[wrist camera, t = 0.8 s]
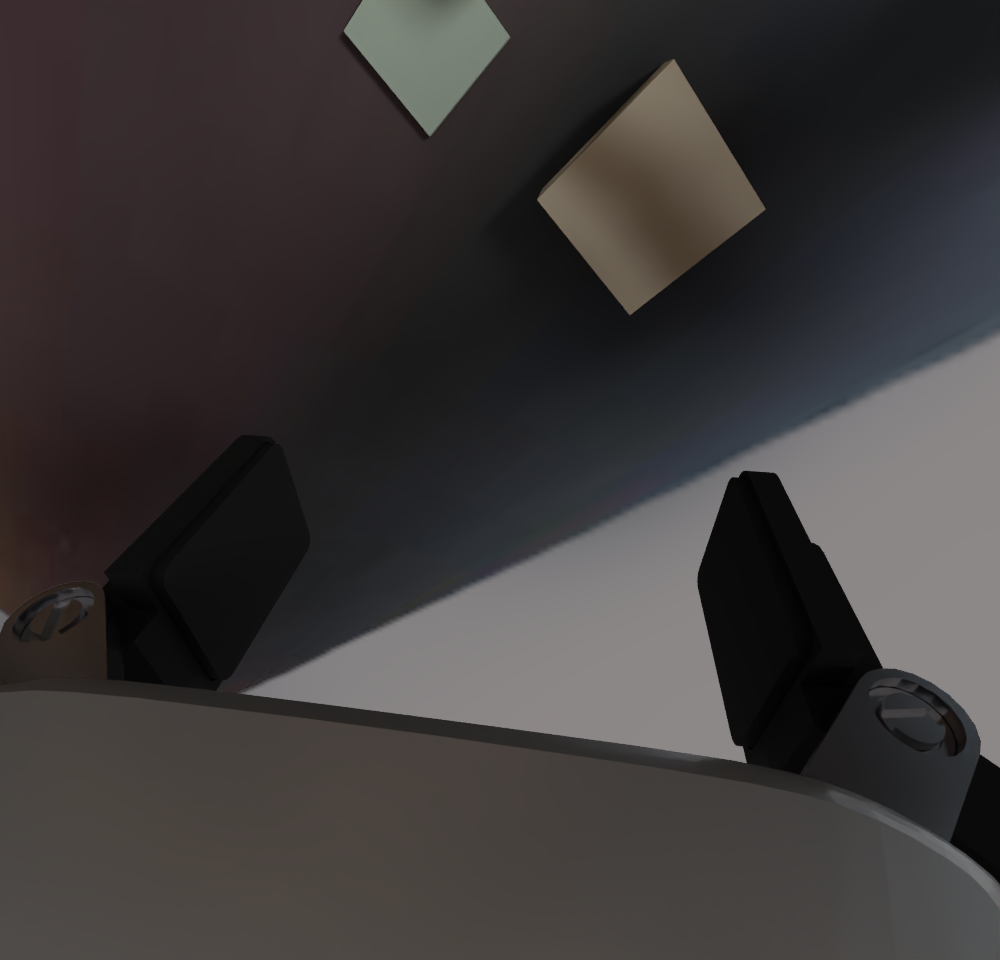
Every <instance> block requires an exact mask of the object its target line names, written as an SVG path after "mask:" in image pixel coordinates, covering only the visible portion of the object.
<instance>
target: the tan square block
mask: <svg viewBox="0 0 1000 960" xmlns="http://www.w3.org/2000/svg"><path fill="white" fill-rule="evenodd" d="M537 200H538V202H539V203H540V204H541V205H542V207H543V208H544V209H545V210H546V212H547V213H548V214H549V215H550V217H551V218H552V219H553V220H554V221H555V223H556V224H557V225H558V226H559V228H560V229H561V230H562V231H563V233H564V234H565V235H566V236H567V238H568V239H569V240H570V241H571V243H572V244H573V245H574V246H575V248H576V249H577V250H578V251H579V253H580V254H581V255H582V256H583V258H584V259H585V260H586V261H587V263H588V264H589V265H590V266H591V268H592V269H593V270H594V271H595V273H596V274H597V275H598V276H599V278H600V279H601V280H602V281H603V283H604V284H605V285H606V286H607V288H608V289H609V290H610V291H611V293H612V294H613V295H614V296H615V298H616V299H617V300H618V301H619V302H620V304H621V305H622V306H623V307H624V309H625V310H626V311H627V312H628V314H629V315H631V314H632V313H633V312H635V311H636V310H637V309H638V308H640V307H641V306H642V305H644V304H645V303H646V302H647V301H649V300H650V299H651V298H653V297H654V296H655V295H656V294H658V293H659V292H660V291H662V290H663V289H664V288H665V287H667V286H668V285H669V284H671V283H672V282H673V281H674V280H676V279H677V278H678V277H680V276H681V275H682V274H683V273H685V272H686V271H687V270H689V269H690V268H691V267H692V266H694V265H695V264H696V263H698V262H699V261H700V260H701V259H703V258H704V257H705V256H706V255H708V254H709V253H710V252H712V251H713V250H714V249H715V248H717V247H718V246H719V245H721V244H722V243H723V242H724V241H726V240H727V239H728V238H730V237H731V236H732V235H733V234H735V233H736V232H737V231H739V230H740V229H741V228H742V227H744V226H745V225H746V224H748V223H749V222H750V221H751V220H753V219H754V218H755V217H757V216H758V215H759V214H760V213H762V212H763V211H764V210H766V209H765V207H764V205H763V204H762V202H761V201H760V199H759V197H758V196H757V194H756V192H755V191H754V189H753V187H752V186H751V184H750V183H749V181H748V179H747V178H746V176H745V174H744V173H743V171H742V169H741V168H740V166H739V165H738V163H737V161H736V160H735V158H734V156H733V155H732V153H731V152H730V150H729V148H728V147H727V145H726V143H725V142H724V140H723V138H722V137H721V135H720V134H719V132H718V130H717V129H716V127H715V125H714V124H713V122H712V120H711V119H710V117H709V116H708V114H707V112H706V111H705V109H704V107H703V106H702V104H701V102H700V101H699V99H698V98H697V96H696V94H695V93H694V91H693V89H692V88H691V86H690V85H689V83H688V81H687V80H686V78H685V76H684V75H683V73H682V71H681V70H680V68H679V67H678V65H677V63H676V62H675V60H674V59H673V60H670V61H667V62H664V63H663V64H662V65H661V66H660V67H659V69H658V70H657V71H656V72H655V73H654V74H653V75H652V76H651V77H650V78H649V79H648V80H647V81H646V82H645V83H644V84H643V85H642V86H641V87H640V88H639V89H638V90H637V91H636V92H635V93H634V94H633V95H632V96H631V97H630V99H629V100H628V101H627V102H626V103H625V104H624V105H623V106H622V107H621V108H620V109H619V110H618V111H617V112H616V113H615V114H614V115H613V116H612V117H611V118H610V119H609V120H608V121H607V122H606V123H605V124H604V125H603V126H602V127H601V129H600V130H599V131H598V132H597V133H596V134H595V135H594V136H593V137H592V138H591V139H590V140H589V141H588V142H587V143H586V144H585V145H584V146H583V147H582V148H581V149H580V150H579V151H578V152H577V153H576V154H575V155H574V156H573V158H572V159H571V160H570V161H569V162H568V163H567V164H566V165H565V166H564V167H563V168H562V169H561V170H560V171H559V172H558V173H557V174H556V175H555V176H554V177H553V178H552V179H551V180H550V181H549V182H548V183H547V184H546V185H545V186H544V188H543V189H542V191H541V193H540V195H539V197H538V199H537Z"/></svg>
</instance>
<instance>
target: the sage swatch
mask: <svg viewBox="0 0 1000 960" xmlns="http://www.w3.org/2000/svg"><path fill="white" fill-rule="evenodd" d="M344 32H345V34H346V35H347V36H348V37H349V38H350V40H351V41H352V42H353V43H354V45H355V46H356V47H357V48H358V49H359V51H360V52H361V53H362V54H363V56H364V57H365V58H366V59H367V60H368V62H369V63H370V64H371V65H372V67H373V68H374V69H375V70H376V71H377V73H378V74H379V75H380V76H381V78H382V79H383V80H384V81H385V82H386V84H387V85H388V86H389V87H390V89H391V90H392V91H393V92H394V93H395V95H396V96H397V97H398V98H399V100H400V101H401V102H402V103H403V104H404V106H405V107H406V108H407V109H408V111H409V112H410V113H411V114H412V115H413V117H414V118H415V119H416V120H417V122H418V123H419V124H420V125H421V126H422V128H423V129H424V130H425V131H426V133H427V134H428V135H429V136H432V134H433V133H434V132H435V131H436V130H437V128H438V127H439V126H440V125H441V123H442V122H443V121H444V120H445V118H446V117H447V116H448V115H449V113H450V112H451V111H452V110H453V109H454V107H455V106H456V105H457V104H458V102H459V101H460V100H461V99H462V97H463V96H464V95H465V94H466V92H467V91H468V90H469V89H470V88H471V86H472V85H473V84H474V83H475V81H476V80H477V79H478V78H479V76H480V75H481V74H482V73H483V71H484V70H485V69H486V68H487V67H488V65H489V64H490V63H491V62H492V60H493V59H494V58H495V57H496V55H497V54H498V53H499V52H500V50H501V49H502V48H503V47H504V46H505V44H506V43H507V42H508V41H509V39H510V38H511V37H510V36H509V35H508V33H507V32H506V30H505V29H504V27H503V26H502V25H501V23H500V22H499V20H498V19H497V17H496V16H495V14H494V13H493V12H492V10H491V9H490V7H489V6H488V4H487V3H486V2H485V0H363V1H362V2H361V4H360V6H359V7H358V9H357V10H356V12H355V14H354V15H353V17H352V18H351V20H350V22H349V23H348V25H347V26H346V28H345V30H344Z"/></svg>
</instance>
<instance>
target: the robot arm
mask: <svg viewBox="0 0 1000 960" xmlns="http://www.w3.org/2000/svg"><path fill="white" fill-rule="evenodd" d="M309 544H310V534H309V531H308V527H307V524H306V521H305V518H304V515H303V512H302V509H301V505H300V502H299V499H298V496H297V493H296V490H295V486H294V483H293V480H292V477H291V474H290V471H289V468H288V464H287V461H286V458H285V455H284V452H283V449H282V447H281V446H280V445H278V444H276V443H275V441H274V440H273V439H272V438H270V437H266V436H252V435H242V436H240V437H239V438H238V439H237V440H236V441H235V442H234V443H233V444H232V445H231V446H230V447H229V448H228V449H227V450H226V451H225V452H224V453H223V454H222V455H221V456H220V457H219V458H218V459H217V460H216V461H215V462H214V463H213V464H212V465H211V466H210V467H209V468H208V469H207V470H206V471H205V472H204V473H203V474H202V475H201V476H200V477H199V478H198V479H197V480H196V481H195V482H194V483H193V484H192V485H191V486H190V487H189V488H188V489H187V490H186V491H185V492H184V493H183V494H182V495H181V496H180V497H179V498H178V499H177V500H176V501H175V502H174V503H173V504H172V505H171V506H170V507H169V508H168V509H167V510H166V511H165V512H164V513H163V514H162V515H161V516H160V517H159V518H158V519H157V520H156V521H155V522H154V523H153V524H152V525H151V526H150V527H149V528H148V529H147V530H146V531H145V532H144V533H143V534H142V535H141V536H140V537H139V538H138V539H137V540H136V541H135V542H134V543H133V544H132V545H131V546H130V547H129V548H128V549H127V550H126V551H125V552H124V553H123V554H122V555H121V556H120V557H119V558H118V559H117V560H116V561H115V562H114V563H113V564H112V565H111V566H110V567H109V568H108V569H107V570H106V571H105V572H104V573H105V574H106V576H107V577H108V579H109V580H110V581H109V582H108V583H107V584H106V585H105V586H104V587H103V588H102V587H100V586H99V585H98V584H96V583H93V582H88V581H76V582H69V583H65V584H61V585H57V586H55V587H52V588H50V589H48V590H45V591H43V592H41V593H39V594H37V595H36V596H34V597H32V598H31V599H29V600H27V601H26V602H25V603H23V604H22V605H21V606H20V607H19V608H17V609H16V610H15V611H14V612H13V613H12V614H11V615H10V617H9V618H8V619H7V620H6V622H5V623H4V625H3V627H2V630H1V632H0V960H1000V768H999V767H998V766H996V765H995V764H993V763H992V762H990V761H989V760H988V759H986V758H985V757H983V756H982V755H980V745H981V741H980V738H979V735H978V732H977V729H976V727H975V725H974V723H973V722H972V720H971V719H970V718H969V716H968V715H967V713H966V712H965V710H964V709H963V708H962V707H961V706H960V705H959V704H958V703H957V702H956V701H955V700H954V699H952V698H951V696H950V695H948V694H947V693H946V692H944V691H943V690H941V689H940V688H938V687H937V686H935V685H934V684H932V683H931V682H929V681H927V680H925V679H923V678H921V677H919V676H916V675H914V674H912V673H908V672H904V671H901V670H897V669H883V667H882V666H881V663H880V661H879V660H878V658H877V656H876V654H875V652H874V650H873V648H872V646H871V644H870V642H869V640H868V638H867V636H866V634H865V632H864V630H863V628H862V626H861V624H860V622H859V620H858V619H857V617H856V615H855V613H854V611H853V609H852V607H851V605H850V603H849V601H848V599H847V597H846V595H845V593H844V591H843V589H842V587H841V585H840V584H839V582H838V580H837V578H836V576H835V574H834V572H833V570H832V568H831V566H830V564H829V562H828V560H827V558H826V556H825V554H824V552H823V551H822V550H821V548H820V547H819V546H818V545H816V544H814V543H811V541H810V540H809V537H808V535H807V534H806V531H805V529H804V527H803V525H802V524H801V521H800V519H799V518H798V515H797V513H796V511H795V509H794V507H793V505H792V503H791V501H790V499H789V497H788V495H787V493H786V491H785V489H784V487H783V485H782V483H781V481H780V479H779V477H778V476H777V475H776V474H775V473H769V472H754V471H743V472H742V473H741V474H740V476H739V478H735V477H732V478H731V479H730V480H729V482H728V485H727V488H726V491H725V494H724V497H723V500H722V503H721V506H720V509H719V512H718V515H717V518H716V521H715V524H714V527H713V529H712V532H711V535H710V538H709V541H708V544H707V547H706V551H705V553H704V556H703V559H702V562H701V565H700V568H699V572H698V590H699V594H700V599H701V603H702V608H703V612H704V617H705V621H706V625H707V630H708V635H709V639H710V643H711V648H712V652H713V656H714V661H715V666H716V670H717V674H718V679H719V684H720V688H721V692H722V696H723V701H724V706H725V710H726V715H727V719H728V724H729V728H730V732H731V736H732V740H733V742H734V744H735V745H737V746H743V749H744V753H745V757H746V761H747V763H742V762H737V761H732V760H725V759H719V758H712V757H706V756H699V755H692V754H686V753H679V752H672V751H666V750H659V749H653V748H647V747H640V746H633V745H626V744H619V743H611V742H603V741H596V740H589V739H582V738H574V737H567V736H560V735H552V734H544V733H537V732H530V731H522V730H515V729H508V728H501V727H493V726H486V725H478V724H471V723H463V722H455V721H447V720H440V719H432V718H425V717H416V716H410V715H402V714H394V713H387V712H386V713H385V712H379V711H371V710H363V709H355V708H348V707H340V706H332V705H324V704H317V703H309V702H301V701H293V700H284V699H276V698H269V697H261V696H253V695H245V694H237V693H229V692H221V691H216V690H217V688H218V687H219V685H220V683H221V682H222V680H226V679H228V678H229V677H230V676H231V675H232V674H233V672H234V671H235V669H236V668H237V666H238V664H239V663H240V661H241V659H242V658H243V656H244V654H245V653H246V651H247V649H248V648H249V646H250V644H251V643H252V641H253V639H254V638H255V636H256V634H257V633H258V631H259V630H260V628H261V626H262V625H263V623H264V621H265V620H266V618H267V616H268V615H269V613H270V611H271V610H272V608H273V606H274V605H275V603H276V601H277V600H278V598H279V596H280V595H281V593H282V591H283V590H284V588H285V587H286V585H287V583H288V582H289V580H290V578H291V577H292V575H293V573H294V572H295V570H296V568H297V567H298V565H299V563H300V562H301V560H302V558H303V557H304V555H305V553H306V552H307V550H308V548H309Z"/></svg>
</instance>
